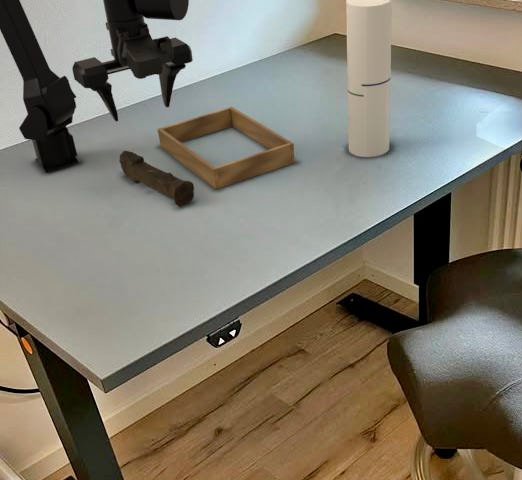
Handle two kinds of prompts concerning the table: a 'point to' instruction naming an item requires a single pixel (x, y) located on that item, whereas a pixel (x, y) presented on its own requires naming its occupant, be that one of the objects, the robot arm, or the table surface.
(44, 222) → the table surface
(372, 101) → the cylindrical container
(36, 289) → the table surface
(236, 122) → the wooden rectangular frame
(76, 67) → the robot arm
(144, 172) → the dark brown long piece
